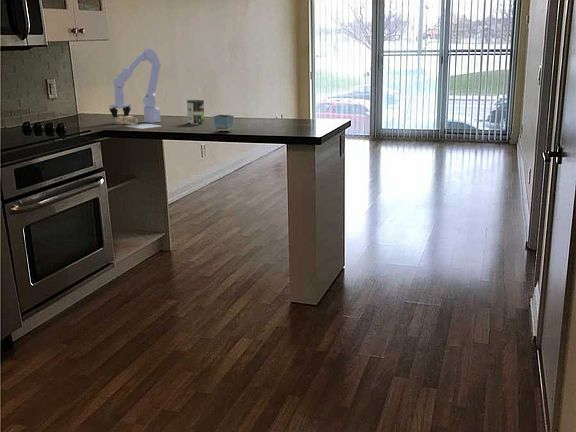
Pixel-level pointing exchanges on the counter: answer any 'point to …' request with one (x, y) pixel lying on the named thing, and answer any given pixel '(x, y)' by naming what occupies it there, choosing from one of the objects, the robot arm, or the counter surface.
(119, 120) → the t block
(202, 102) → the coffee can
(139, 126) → the mat
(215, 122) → the flower pot
